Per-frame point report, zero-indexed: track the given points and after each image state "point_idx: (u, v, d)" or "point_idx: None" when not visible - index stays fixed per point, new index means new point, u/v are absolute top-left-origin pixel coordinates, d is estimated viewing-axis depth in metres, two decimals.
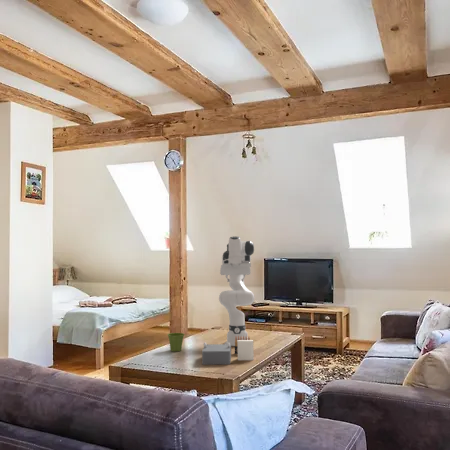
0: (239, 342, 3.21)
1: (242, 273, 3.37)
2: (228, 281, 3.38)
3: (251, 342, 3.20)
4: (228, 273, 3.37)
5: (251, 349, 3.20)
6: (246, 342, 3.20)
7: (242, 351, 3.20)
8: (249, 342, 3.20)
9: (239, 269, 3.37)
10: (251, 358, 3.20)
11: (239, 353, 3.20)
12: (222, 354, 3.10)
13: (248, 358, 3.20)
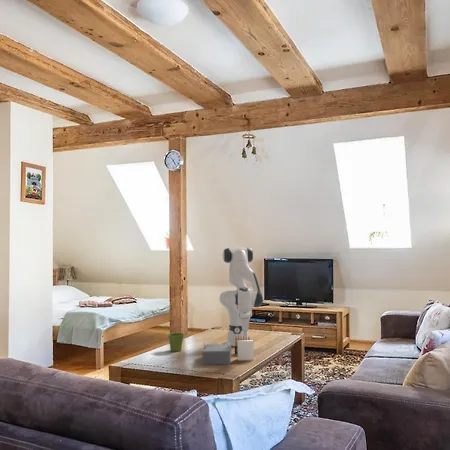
0: (239, 342, 3.20)
1: None
2: (246, 336, 3.17)
3: (251, 342, 3.20)
4: None
5: (251, 349, 3.20)
6: (246, 342, 3.20)
7: (242, 351, 3.20)
8: (249, 342, 3.20)
9: None
10: (251, 358, 3.20)
11: (239, 353, 3.20)
12: (222, 354, 3.10)
13: (248, 358, 3.20)
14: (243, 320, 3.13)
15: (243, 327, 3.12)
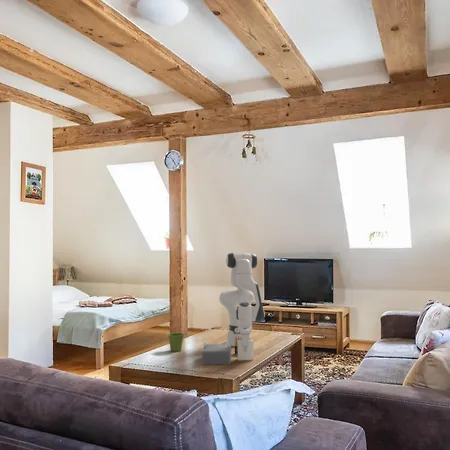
0: (239, 342, 3.21)
1: None
2: (246, 350, 3.19)
3: (251, 342, 3.20)
4: None
5: (251, 349, 3.20)
6: None
7: (242, 351, 3.20)
8: (249, 342, 3.20)
9: None
10: (251, 358, 3.20)
11: (239, 353, 3.20)
12: (222, 354, 3.10)
13: (248, 358, 3.20)
14: (243, 336, 3.13)
15: (243, 343, 3.12)
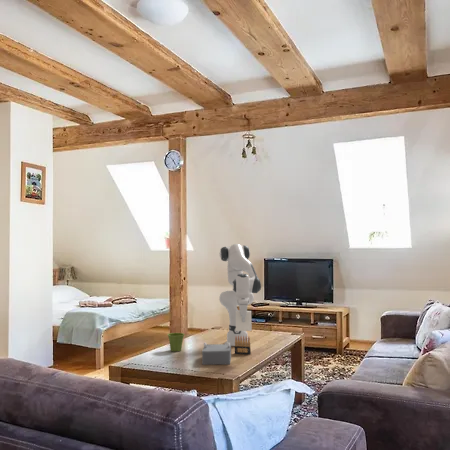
0: (237, 313, 3.21)
1: None
2: (244, 321, 3.20)
3: (249, 313, 3.21)
4: None
5: (249, 320, 3.21)
6: None
7: (240, 322, 3.21)
8: (247, 313, 3.21)
9: None
10: (249, 329, 3.20)
11: (237, 324, 3.21)
12: (222, 354, 3.10)
13: (246, 329, 3.20)
14: (241, 306, 3.13)
15: (241, 313, 3.12)
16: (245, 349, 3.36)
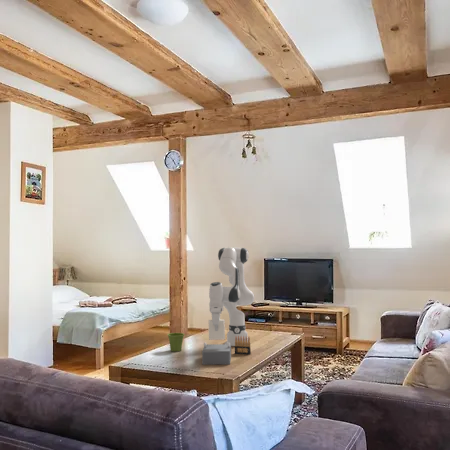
0: (210, 321, 3.20)
1: None
2: (217, 330, 3.19)
3: (222, 321, 3.19)
4: None
5: (222, 328, 3.19)
6: None
7: (213, 331, 3.19)
8: (220, 322, 3.19)
9: None
10: (222, 337, 3.19)
11: (210, 332, 3.19)
12: (222, 354, 3.10)
13: (219, 337, 3.19)
14: (214, 315, 3.12)
15: (213, 322, 3.11)
16: (245, 349, 3.36)
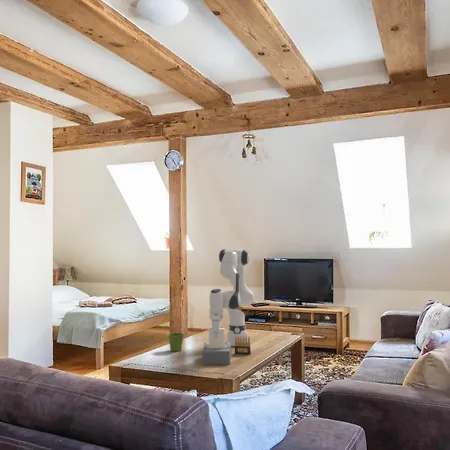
0: (210, 330, 3.20)
1: None
2: (217, 338, 3.16)
3: (222, 330, 3.19)
4: None
5: (222, 337, 3.19)
6: None
7: (213, 339, 3.19)
8: (220, 330, 3.19)
9: None
10: (222, 346, 3.19)
11: (210, 341, 3.19)
12: (222, 354, 3.10)
13: (219, 346, 3.19)
14: (214, 322, 3.12)
15: (214, 329, 3.11)
16: (245, 349, 3.36)
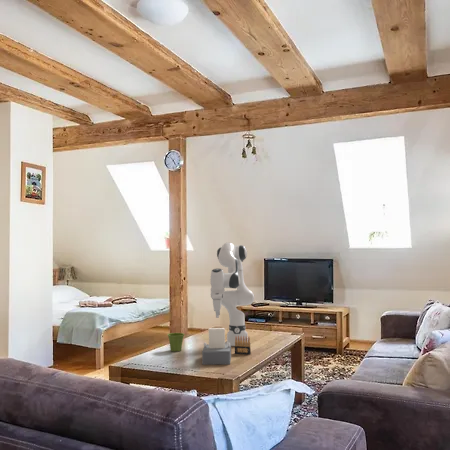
0: (210, 330, 3.20)
1: None
2: (218, 317, 3.18)
3: (222, 330, 3.19)
4: None
5: (222, 337, 3.19)
6: (217, 330, 3.19)
7: (213, 339, 3.19)
8: (220, 330, 3.19)
9: None
10: (222, 346, 3.19)
11: (210, 341, 3.19)
12: (222, 354, 3.10)
13: (219, 346, 3.19)
14: (215, 301, 3.13)
15: (215, 308, 3.12)
16: (245, 349, 3.36)
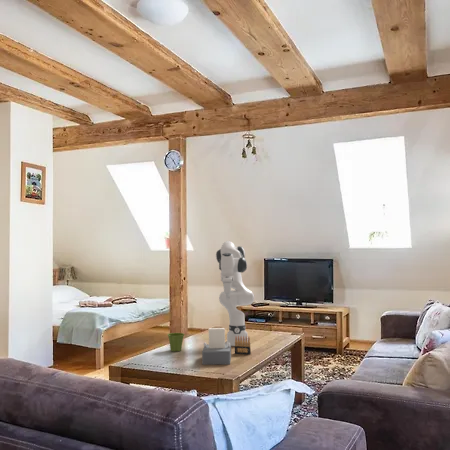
0: (210, 330, 3.20)
1: None
2: (228, 299, 3.26)
3: (222, 330, 3.19)
4: None
5: (222, 337, 3.19)
6: (217, 330, 3.19)
7: (213, 339, 3.19)
8: (220, 330, 3.19)
9: None
10: (222, 346, 3.19)
11: (210, 341, 3.19)
12: (222, 354, 3.10)
13: (219, 346, 3.19)
14: (225, 284, 3.22)
15: (225, 290, 3.21)
16: (245, 349, 3.36)
